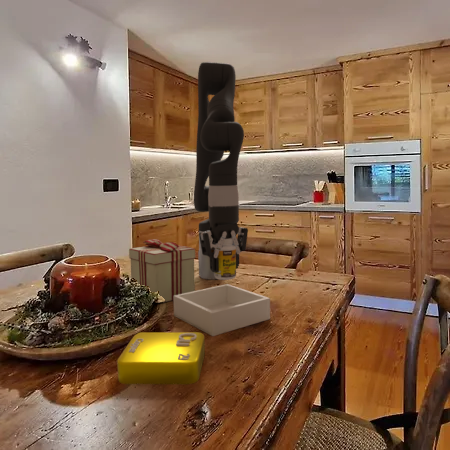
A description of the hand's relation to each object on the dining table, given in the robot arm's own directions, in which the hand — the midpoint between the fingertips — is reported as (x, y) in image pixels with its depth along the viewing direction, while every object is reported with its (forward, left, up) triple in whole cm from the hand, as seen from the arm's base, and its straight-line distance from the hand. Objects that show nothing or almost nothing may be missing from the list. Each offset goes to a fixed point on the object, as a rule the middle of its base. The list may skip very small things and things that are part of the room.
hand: (224, 269), depth 104 cm
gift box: (-31, -1, -13) cm, 34 cm away
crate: (-2, 0, -13) cm, 13 cm away
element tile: (+13, -25, -14) cm, 31 cm away
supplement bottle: (0, 0, -2) cm, 2 cm away
